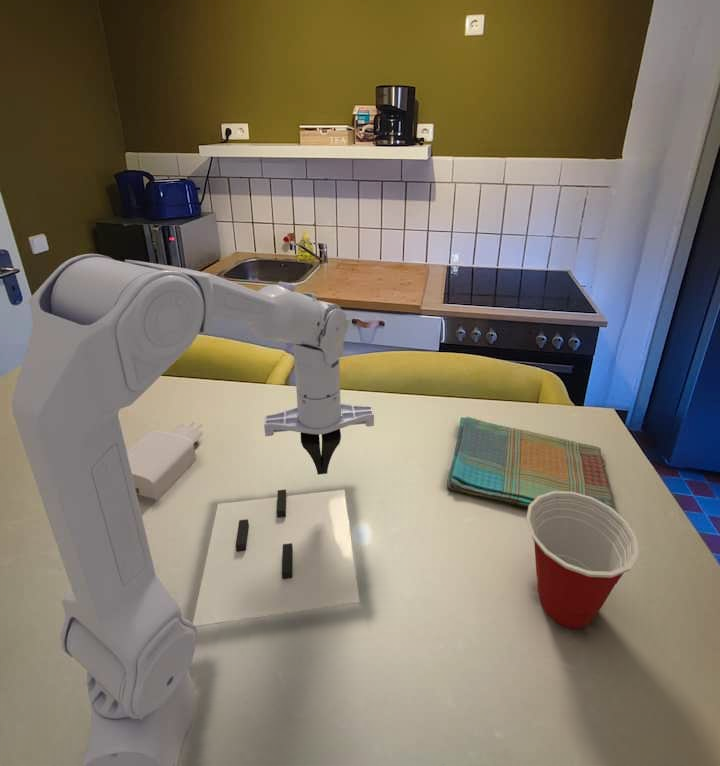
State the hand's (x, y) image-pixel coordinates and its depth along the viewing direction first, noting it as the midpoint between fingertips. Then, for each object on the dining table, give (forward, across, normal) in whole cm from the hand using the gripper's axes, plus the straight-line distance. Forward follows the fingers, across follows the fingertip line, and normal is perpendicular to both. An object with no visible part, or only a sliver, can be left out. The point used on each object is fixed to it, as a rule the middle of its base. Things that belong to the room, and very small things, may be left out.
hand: (322, 468), depth 61 cm
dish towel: (+7, -33, -2) cm, 34 cm away
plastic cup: (+7, -27, +18) cm, 33 cm away
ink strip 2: (+6, +6, 0) cm, 8 cm away
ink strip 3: (+6, +5, +9) cm, 12 cm away
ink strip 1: (+6, +11, +4) cm, 13 cm away
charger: (+7, +25, -12) cm, 29 cm away
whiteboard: (+7, +6, +6) cm, 11 cm away
